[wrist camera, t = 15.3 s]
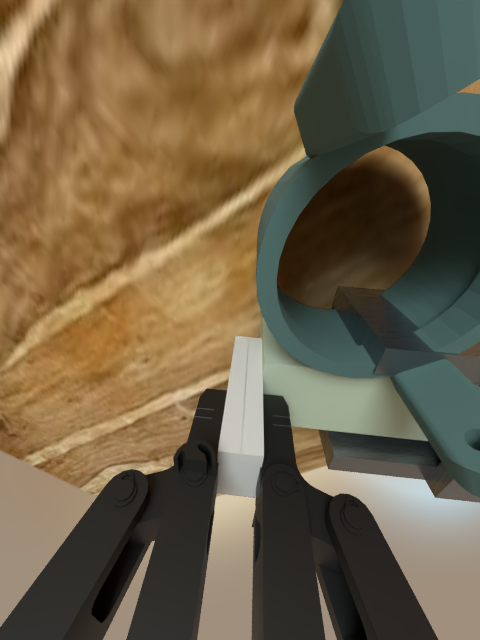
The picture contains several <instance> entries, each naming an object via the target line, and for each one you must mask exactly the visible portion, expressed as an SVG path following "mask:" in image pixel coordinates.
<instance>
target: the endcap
mask: <svg viewBox="0 0 480 640" xmlns="http://www.w3.org/2000/svg"><path fill="white" fill-rule="evenodd" d="M384 291H386V290H375V289H364V288H353V287H342V286H338V289H337V292H336V295H335V299H334V302H333V307H334V308H335V309H336V311H337V312H338V314H339V316H340V318H341V319H342V321H343V323H344V325H345V326H346V328H347V330H348V331H349V333H350V335H351V336H352V338H353V340H354V341H355V343H356V345H357V346H360V345H363V346H364V348H365V350H366V351H367V353H368V354H369V356H370V358H371V359H372V361H373V363H374V364H375V368H374V370H373V373H374V374H383V375H393V376H395V375H396V374H398V373H401V372H404V371H407V370H410V369H414V368H417V367H420V366H423V365H426V364H429V363H432V362H436V361H439V360H442V359H447V360H449V361H450V362H451V363H452V364H453V365H454V366H456V367H457V368H458V369H459V370H460V371H461V372H462V373H463V374H464V375H465V376H466V377H467V378H468V379H469V380H470V381H471V382H472V383H474V384H480V341H479V342H478V343H476V344H475V345H473V346H472V347H470V348H469V349H467V350H465V351H463V352H461V353H459V354H455V353H445V352H434V351H433V350H432V349H431V348H430V347H429V346H428V345H427V344H426V343H425V342H423V341H422V340H421V339H420V338H419V337H418V336H417V335H416V334H415V333H414V331H416V330H418V329H420V328H418V327H417V326H416V325H415V324H414V323H413V322H412V321H411V320H409V319H408V318H407V317H406V316H405V315H404V314H403V313H402V312H400V311H399V310H398V309H397V308H396V307H395V306H394V305H392V304H391V303H390V302H389V301H388V300H387V299H386V298H384V297H383V296H382V295H381V293H383V292H384ZM319 433H320V438H321V442H322V446H323V450H324V454H325V458H326V462H327V466H328V469H331V470H342V471H350V472H360V473H368V474H377V475H388V476H396V477H405V478H414V479H424V480H426V482H427V484H428V486H429V487H430V489H431V491H432V493H433V495H434V496H435V497H436V498H444V499H453V500H462V501H471V502H480V498H479V497H477V496H474V495H472V494H471V493H469V492H468V491H466V490H465V489H464V488H462V487H461V486H460V485H459V484H458V483H457V482H456V481H455V480H454V479H453V478H452V476H451V475H450V474H449V472H448V470H447V469H446V467H445V466H444V464H443V463H442V461H441V460H440V458H439V456H438V455H437V453H436V452H435V450H434V449H433V447H432V446H431V444H430V442H429V441H422V440H413V439H403V438H394V437H385V436H375V435H366V434H357V433H348V432H338V431H329V430H320V429H319Z"/></svg>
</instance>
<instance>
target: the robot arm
mask: <svg viewBox="0 0 480 640" xmlns="http://www.w3.org/2000/svg"><path fill="white" fill-rule="evenodd" d="M216 493H220V494H228V495H236V496H244V497H253V498H255V496H256V510H255V514H254V519H253V524H252V527H254V546H253V547H254V549H253V550H254V551H253V599H252V604H253V605H252V640H325V633H324V626H323V619H322V612H321V605H320V598H319V591H318V584H317V577H316V573H317V576H318V580H319V583H320V586H321V589H322V593H323V596H324V599H325V602H326V605H327V609H328V612H329V615H330V618H331V622H332V625H333V628H334V631H335V634H336V637H337V640H438V638H437V636H436V635H435V633H434V631H433V629H432V627H431V625H430V623H429V621H428V619H427V618H426V616H425V614H424V612H423V610H422V608H421V606H420V604H419V603H418V601H417V599H416V597H415V595H414V593H413V591H412V589H411V587H410V585H409V583H408V581H407V580H406V578H405V576H404V574H403V572H402V570H401V569H400V566H399V565H398V563H397V561H396V559H395V557H394V555H393V554H392V551H391V549H390V547H389V546H388V544H387V542H386V540H385V538H384V536H383V534H382V532H381V530H380V529H379V527H378V525H377V523H376V521H375V519H374V517H373V515H372V514H371V512H370V511H369V510H368V508H367V507H366V505H365V504H363V503H362V502H361V501H360V500H359V499H357V498H356V497H354V496H351V495H349V494H339V495H337V496H335V497H332V496H330V495H328V494H326V493H324V492H322V491H320V490H318V489H316V488H314V487H313V486H311V485H310V484H308V483H307V482H306V481H305V480H304V478H303V477H302V476H301V474H300V472H299V470H298V468H297V465H296V459H295V452H294V444H293V436H292V429H291V421H290V413H289V406H288V404H287V402H286V401H285V399H284V397H283V396H278V395H268V394H263V370H262V339H261V338H251V337H241V336H236V338H235V344H234V351H233V357H232V364H231V370H230V376H229V383H228V389H227V391H225V390H216V389H206V390H205V391H204V393H203V394H202V395H201V396H200V398H199V402H198V406H197V409H196V413H195V417H194V420H193V423H192V427H191V431H190V434H189V438H188V441H187V443H185V444H183V445H182V446H181V447H180V448H179V449H178V450H177V452H176V454H175V456H174V466H172V467H171V468H169V469H167V470H164V471H161V472H157V473H152V474H148V475H144V474H143V473H142V472H140V471H138V470H132V469H131V470H127V471H123V472H121V473H119V474H118V475H116V476H114V477H113V478H112V479H111V480H110V481H109V482H108V484H107V485H106V486H105V487H104V489H103V490H102V491H101V493H100V494H99V495H98V497H97V498H96V499H95V501H94V502H93V503H92V505H91V506H90V508H89V509H88V511H87V512H86V513H85V514H84V516H83V517H82V518H81V520H80V521H79V522H78V524H77V525H76V526H75V528H74V529H73V530H72V532H71V533H70V534H69V536H68V537H67V538H66V540H65V541H64V543H63V544H62V545H61V546H60V548H59V549H58V551H57V552H56V553H55V555H54V556H53V557H52V559H51V560H50V561H49V563H48V564H47V565H46V567H45V568H44V569H43V571H42V572H41V573H40V575H39V576H38V577H37V579H36V580H35V581H34V583H33V584H32V586H31V587H30V588H29V590H28V591H27V592H26V594H25V595H24V596H23V598H22V599H21V600H20V602H19V603H18V604H17V606H16V607H15V608H14V610H13V611H12V612H11V614H10V615H9V616H8V618H7V619H6V621H5V622H4V623H3V624H2V626H1V627H0V640H103V638H104V636H105V634H106V632H107V630H108V628H109V626H110V624H111V622H112V620H113V618H114V616H115V614H116V611H117V609H118V608H119V605H120V604H121V602H122V599H123V597H124V596H125V594H126V592H127V590H128V588H129V585H130V583H131V581H132V579H133V577H134V575H135V573H136V571H137V569H138V567H139V565H140V563H141V561H142V559H143V557H144V555H145V553H146V551H147V549H148V547H149V545H150V543H151V541H154V540H155V543H154V547H153V550H152V554H151V557H150V560H149V564H148V567H147V571H146V574H145V578H144V581H143V584H142V588H141V591H140V595H139V598H138V602H137V605H136V609H135V612H134V615H133V619H132V622H131V626H130V629H129V633H128V636H127V639H126V640H197V635H198V628H199V621H200V613H201V605H202V599H203V591H204V584H205V577H206V569H207V562H208V554H209V548H210V540H211V533H212V525H213V517H214V506H215V498H216Z"/></svg>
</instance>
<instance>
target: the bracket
mask: <svg viewBox="0 0 480 640" xmlns="http://www.w3.org/2000/svg"><path fill="white" fill-rule="evenodd" d="M478 79H480V0H344V1H343V3H342V5H341V7H340V9H339V11H338V13H337V15H336V17H335V19H334V21H333V24H332V26H331V28H330V30H329V32H328V34H327V36H326V38H325V40H324V42H323V45H322V47H321V49H320V51H319V53H318V55H317V57H316V59H315V61H314V63H313V65H312V68H311V70H310V72H309V74H308V76H307V78H306V80H305V82H304V84H303V86H302V89H301V91H300V93H299V95H298V97H297V99H296V101H295V105H294V113H295V117H296V120H297V124H298V127H299V131H300V134H301V138H302V141H303V145H304V148H305V152H306V155H307V156H306V157H305V158H303V159H302V160H300V161H299V162H297V163H296V164H294V165H292V166H291V167H290V168H289V169H288V170H287V171H286V172H285V174H284V175H283V176H282V177H281V178H280V180H279V181H278V182H277V184H276V185H275V187H274V189H273V190H272V192H271V194H270V196H269V197H268V199H267V202H266V204H265V207H264V209H263V212H262V214H261V219H260V224H259V228H258V242H257V268H256V282H257V297H258V301H259V305H260V309H261V313H262V316H263V318H264V320H265V322H266V324H267V326H268V328H269V331H270V332H271V333H272V335H273V336H274V337H275V339H276V340H277V342H278V343H279V344H280V345H281V346H282V347H283V348H284V349H285V350H286V351H287V352H288V353H289V354H290V355H291V356H293V357H295V358H296V359H298V360H299V361H301V362H302V363H304V364H305V365H307V366H310V367H312V368H314V369H316V370H319V371H321V372H325V373H328V374H332V375H335V376H342V377H349V378H369V379H373V378H383V377H390V379H391V381H392V383H393V385H394V387H395V390H396V391H397V393H398V394H399V396H400V397H401V399H402V400H403V402H404V404H405V405H406V407H407V408H408V410H409V411H410V413H411V414H412V416H413V418H414V419H415V421H416V422H417V424H418V425H419V427H420V428H421V430H422V432H423V433H424V435H425V436H426V438H427V439H428V441H429V442H430V444H431V446H432V447H433V449H434V450H435V452H436V453H437V455H438V456H439V458H440V460H441V461H442V463H443V464H444V466H445V467H446V469H447V470H448V472H449V474H450V475H451V476H452V478H453V479H454V480H455V481H456V482H457V483H458V484H459V485H460V486H461V487H462V488H464V489H465V490H466V491H468V492H469V493H471V494H472V495H474V496H477V497H479V498H480V389H478V388H477V387H476V386H475V385H474V384H473V383H472V382H471V381H470V380H469V379H468V378H467V377H466V376H465V375H464V374H463V373H462V372H461V371H460V370H459V369H458V368H457V367H456V366H454V365H453V364H452V363H451V362H450V361H449V360H447V359H442V360H439V361H436V362H432V363H429V364H426V365H423V366H420V367H417V368H414V369H410V370H407V371H404V372H401V373H398V374H396V375H395V376H393V375H383V374H374V373H373V370H374V368H375V364H374V363H373V361H372V359H371V358H370V356H369V354H368V353H367V351H366V350H365V348H364V346H363V345H360V346H357V345H356V343H355V341H354V340H353V338H352V336H351V335H350V333H349V331H348V330H347V328H346V326H345V325H344V323H343V321H342V319H341V318H340V316H339V314H338V312H337V311H336V309H320V308H313V307H310V306H307V305H304V304H301V303H299V302H297V301H296V300H294V299H292V298H291V297H289V296H288V295H287V294H286V293H284V292H283V291H282V290H281V289H280V287H279V286H278V285H277V282H276V281H277V273H278V266H279V260H280V257H281V253H282V250H283V247H284V244H285V241H286V238H287V236H288V235H289V233H290V231H291V229H292V227H293V225H294V223H295V222H296V220H297V218H298V216H299V215H300V213H301V212H302V211H303V209H304V208H305V207H306V206H307V204H308V203H309V202H310V200H311V199H312V198H313V197H314V195H315V194H316V193H317V192H318V191H319V190H320V189H321V188H322V187H323V186H324V185H325V184H326V183H327V182H328V181H330V180H331V179H332V178H333V177H334V176H335V175H336V174H337V173H338V172H339V171H341V170H342V169H344V168H345V167H347V166H348V165H350V164H351V163H353V162H354V161H356V160H357V159H359V158H360V157H362V156H363V155H365V154H366V153H368V152H371V151H373V150H375V149H377V148H380V147H382V146H384V145H385V146H388V147H390V148H393V149H395V150H398V151H400V152H401V153H402V154H404V155H405V156H406V157H408V158H409V159H410V160H412V161H413V163H414V164H415V165H416V166H417V168H418V169H419V170H420V171H421V173H422V175H423V177H424V179H425V182H426V184H427V186H428V189H429V195H430V201H431V217H430V224H429V228H428V233H427V236H426V239H425V241H424V244H423V246H422V248H421V251H420V252H419V254H418V256H417V257H416V259H415V261H414V262H413V264H412V265H411V266H410V268H409V269H408V270H407V271H406V272H405V274H404V275H403V276H402V277H401V278H400V279H399V280H398V281H397V282H396V283H395V284H393V285H392V286H391V287H390V288H389V289H387V290H386V291H384V292H383V293H381V295H382V296H383V297H384V298H386V299H387V300H388V301H389V302H390V303H391V304H392V305H394V306H395V307H396V308H397V309H398V310H399V311H400V312H402V313H403V314H404V315H405V316H406V317H407V318H408V319H409V320H411V321H412V322H413V323H414V324H415V325H416V326H417V327H418V328H420V329H418V330H416V331H414V333H415V334H416V335H417V336H418V337H419V338H420V339H421V340H422V341H423V342H425V343H426V344H427V345H428V346H429V347H430V348H431V349H432V350H433V351H434V352H445V353H455V354H459V353H461V352H463V351H465V350H467V349H469V348H470V347H472V346H473V345H475V344H476V343H478V342H479V341H480V94H471V93H456V92H458V91H460V90H462V89H463V88H465V87H467V86H468V85H470V84H472V83H473V82H475V81H477V80H478Z"/></svg>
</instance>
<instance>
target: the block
mask: <svg viewBox="0 0 480 640" xmlns="http://www.w3.org/2000/svg"><path fill="white" fill-rule="evenodd" d="M259 338H261V339H262V370H263V394H268V395H278V396H283V397H284V399H285V401H286V402H287V404H288V406H289V413H290V421H291V426H292V427H301V428H310V429H320V430H329V431H338V432H348V433H357V434H366V435H375V436H385V437H394V438H403V439H413V440H422V441H428V439H427V438H426V436H425V435H424V433H423V432H422V430H421V428H420V427H419V425H418V424H417V422H416V421H415V419H414V418H413V416H412V414H411V413H410V411H409V410H408V408H407V407H406V405H405V404H404V402H403V400H402V399H401V397H400V396H399V394H398V393H397V391H396V390H395V387H394V385H393V383H392V381H391V379H390V377H383V378H373V379H369V378H349V377H342V376H335V375H332V374H328V373H325V372H321V371H319V370H316V369H314V368H312V367H310V366H307V365H305V364H304V363H302V362H301V361H299V360H298V359H296V358H295V357H293V356H291V355H290V354H289V353H288V352H287V351H286V350H285V349H284V348H283V347H282V346H281V345H280V344H279V343H278V342H277V340H276V339H275V337H274V336H273V335H272V333H271V332H270V331H269V328H268V326H267V324H266V322H265V320H264V318H263V316H262V319H261V327H260V334H259ZM473 384H474V383H473ZM474 385H475V386H476V387H477V388H478V389H480V384H474Z"/></svg>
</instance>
